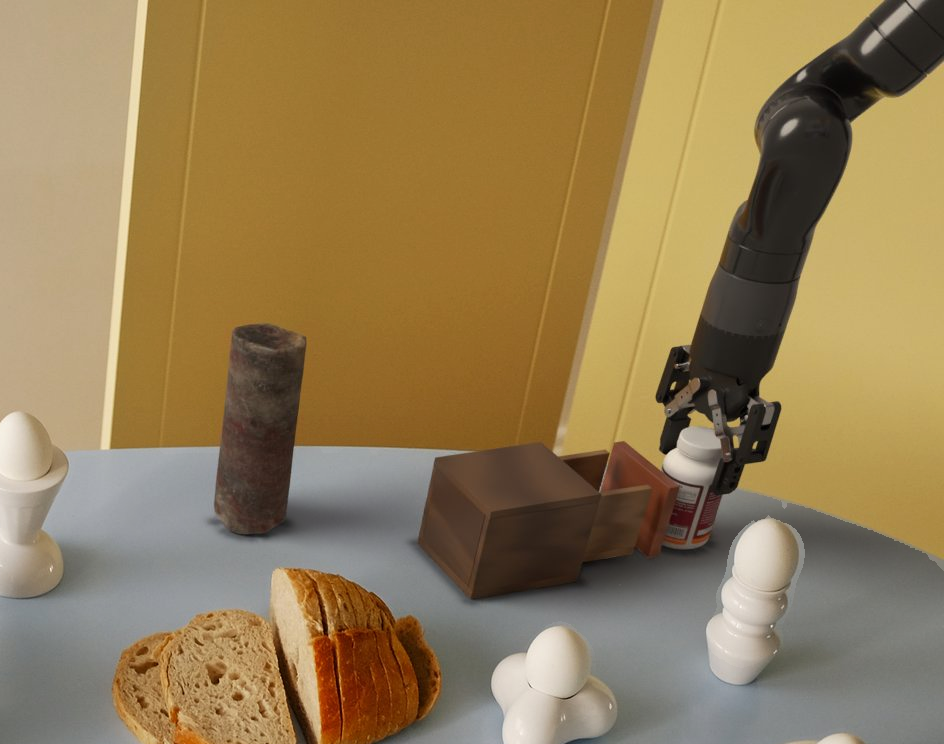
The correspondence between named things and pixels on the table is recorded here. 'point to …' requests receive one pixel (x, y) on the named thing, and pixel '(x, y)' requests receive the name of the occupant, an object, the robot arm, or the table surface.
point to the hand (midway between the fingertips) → (694, 472)
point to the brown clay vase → (259, 427)
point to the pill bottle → (693, 487)
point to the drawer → (625, 501)
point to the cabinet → (507, 519)
